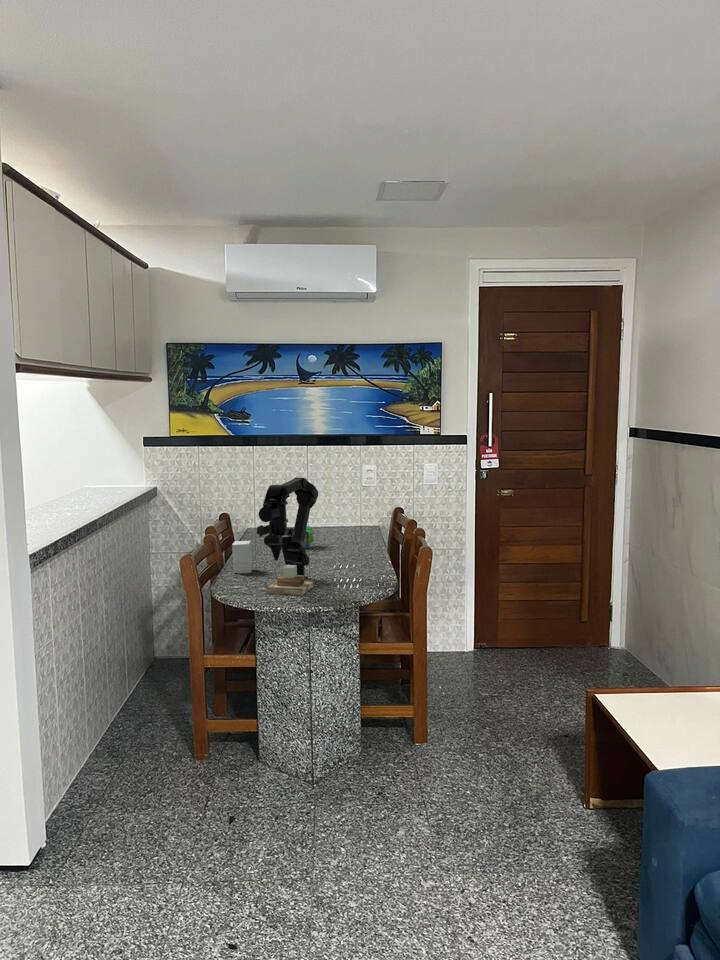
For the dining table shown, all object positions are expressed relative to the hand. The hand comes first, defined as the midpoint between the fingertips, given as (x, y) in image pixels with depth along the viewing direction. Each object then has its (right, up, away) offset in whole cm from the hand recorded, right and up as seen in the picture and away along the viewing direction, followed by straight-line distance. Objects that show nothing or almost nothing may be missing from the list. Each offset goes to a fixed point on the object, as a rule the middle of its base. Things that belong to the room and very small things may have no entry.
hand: (280, 557), depth 275 cm
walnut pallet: (+4, -10, -2) cm, 11 cm away
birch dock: (+4, -12, -1) cm, 13 cm away
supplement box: (-19, -9, +29) cm, 36 cm away
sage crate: (+4, -7, -2) cm, 8 cm away
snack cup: (+2, -4, +74) cm, 74 cm away
